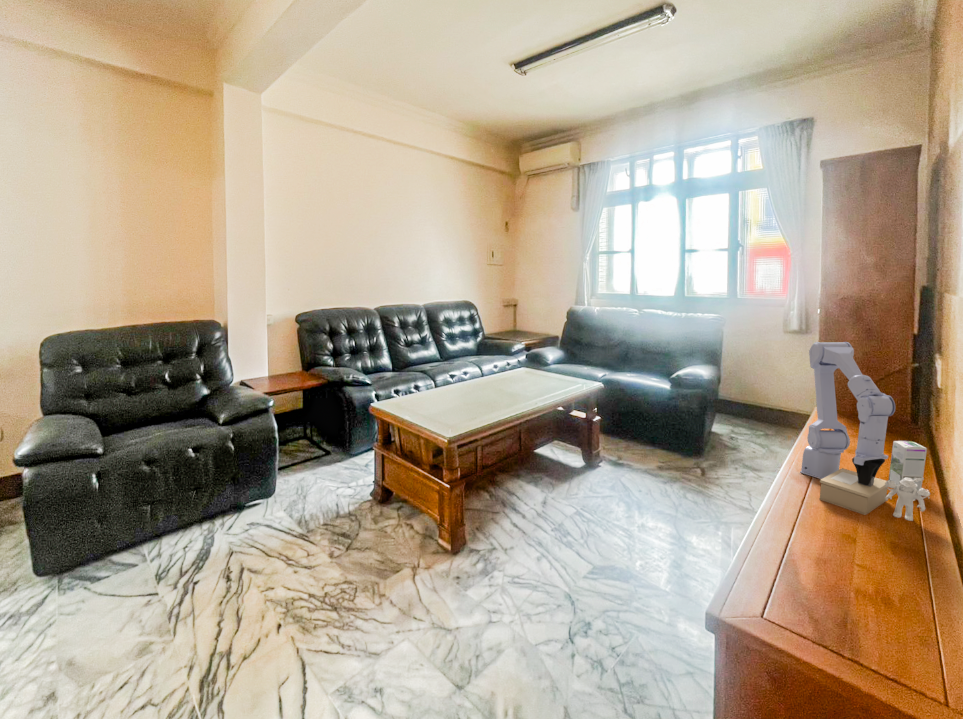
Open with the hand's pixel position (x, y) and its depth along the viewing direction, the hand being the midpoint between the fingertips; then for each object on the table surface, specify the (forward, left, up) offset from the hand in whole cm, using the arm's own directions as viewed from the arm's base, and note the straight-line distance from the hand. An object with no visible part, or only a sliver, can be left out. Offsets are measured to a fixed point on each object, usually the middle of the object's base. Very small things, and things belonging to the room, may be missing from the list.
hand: (865, 482), depth 130 cm
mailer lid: (-3, 0, -1) cm, 3 cm away
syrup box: (+3, +21, -7) cm, 22 cm away
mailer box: (-2, 0, -6) cm, 7 cm away
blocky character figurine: (+9, 0, -7) cm, 11 cm away
